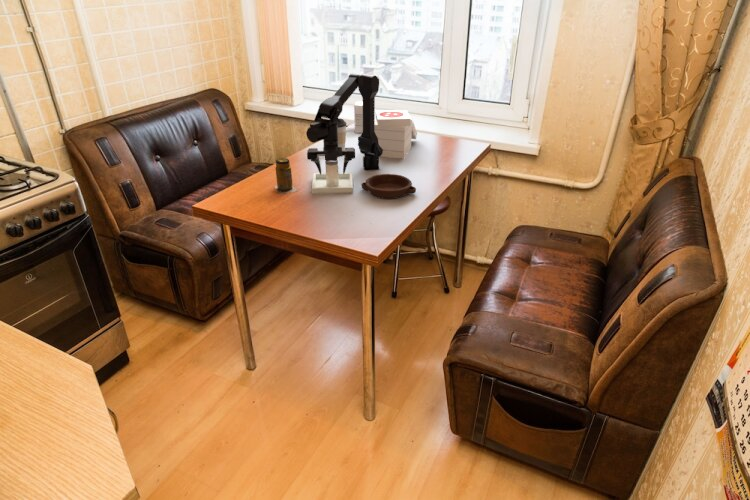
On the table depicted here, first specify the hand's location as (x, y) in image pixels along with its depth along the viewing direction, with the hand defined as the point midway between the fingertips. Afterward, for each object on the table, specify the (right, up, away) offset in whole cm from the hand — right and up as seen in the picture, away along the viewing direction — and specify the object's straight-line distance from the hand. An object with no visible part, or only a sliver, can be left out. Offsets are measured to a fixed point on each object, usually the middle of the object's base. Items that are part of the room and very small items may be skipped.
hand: (332, 173), depth 193 cm
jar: (0, -4, +2) cm, 5 cm away
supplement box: (+11, +34, +68) cm, 77 cm away
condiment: (-19, -6, 0) cm, 20 cm away
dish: (+22, -8, -3) cm, 24 cm away
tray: (0, -4, +3) cm, 5 cm away
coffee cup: (-1, +18, +41) cm, 44 cm away
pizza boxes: (+27, +19, +43) cm, 54 cm away
